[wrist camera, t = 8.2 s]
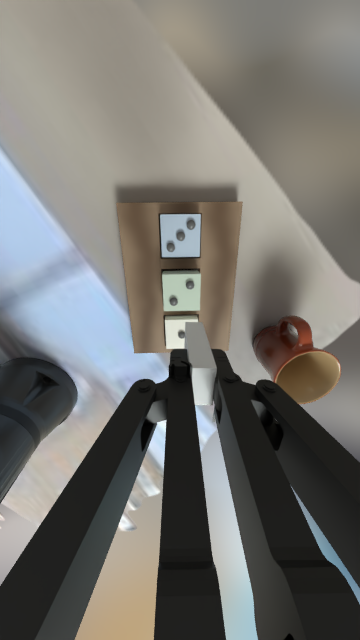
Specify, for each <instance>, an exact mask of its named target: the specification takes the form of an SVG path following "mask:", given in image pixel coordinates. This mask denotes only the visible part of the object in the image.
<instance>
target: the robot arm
mask: <svg viewBox="0 0 360 640" xmlns="http://www.w3.org/2000/svg"><path fill="white" fill-rule="evenodd" d="M213 399H214V404H215V406H214V414H213V422H215V419H216V424H217V428H218V433H219V438H220V442H221V447H222V452H223V456H224V461H225V466H226V470H227V475H228V480H229V484H230V489H231V494H232V498H233V502H234V507H235V512H236V517H237V522H238V526H239V531H240V535H241V540H242V545H243V549H244V554H245V559H246V563H247V568H248V573H249V577H250V582H251V587H252V592H253V599H254V613H255V623H256V631H257V636H258V640H360V604H359V602H358V600H357V598H356V596H355V594H354V592H353V591H352V589H351V587H350V585H349V584H348V582H347V580H346V578H345V577H344V576H343V575H342V573H341V572H340V571H339V569H338V568H337V567H336V566H335V565H333V564H332V563H331V562H329V561H328V560H327V559H326V558H325V556H324V555H323V554H322V552H321V550H320V548H319V546H318V544H317V542H316V540H315V537H314V535H313V533H312V531H311V529H310V527H309V525H308V523H307V520H306V518H305V516H304V514H303V512H302V509H301V507H300V505H299V503H298V501H297V499H296V496H295V494H294V492H293V490H292V488H293V489H294V491H295V492H296V494H297V495H298V497H299V498H300V499H301V501H302V502H303V504H304V506H305V507H306V509H307V510H308V511H309V513H310V515H311V516H312V517H313V519H314V520H315V522H316V523H317V525H318V526H319V528H320V529H321V531H322V532H323V534H324V535H325V537H326V538H327V540H328V541H329V543H330V544H331V546H332V547H333V549H334V550H335V552H336V553H337V555H338V556H339V558H340V559H341V561H342V562H343V564H344V565H345V567H346V568H347V570H348V571H349V573H350V574H351V576H352V577H353V579H354V580H355V582H356V583H357V584H358V586H359V588H360V462H358V461H357V460H356V459H355V458H354V457H353V456H352V455H351V454H350V453H349V452H348V451H347V450H346V449H345V448H344V447H343V446H342V445H341V444H340V443H339V442H337V440H335V439H334V438H333V437H332V436H331V435H330V434H329V433H328V432H327V431H326V430H325V429H324V428H323V427H322V426H321V425H320V424H319V423H318V422H317V421H316V420H315V419H314V418H312V417H311V416H310V415H309V414H308V413H307V412H306V411H305V410H304V409H303V408H302V407H301V406H300V405H299V404H298V403H297V402H296V401H295V400H294V399H293V398H292V397H291V396H289V395H288V394H287V393H286V392H285V391H284V390H283V389H282V388H281V387H280V386H279V385H278V384H276V383H275V382H272V381H270V380H259V381H258V382H257V383H256V385H253V384H249V383H246V382H243V381H242V380H241V378H240V377H239V376H238V375H237V374H235V373H234V372H233V369H232V367H231V365H230V363H229V360H228V358H227V356H226V353H225V352H224V351H223V350H221V349H211V348H210V345H209V342H208V338H207V335H206V332H205V329H204V326H203V323H202V322H185V343H184V349H173V350H172V351H171V355H170V365H169V377H168V378H167V379H166V380H165V381H163V382H161V383H157V384H155V382H154V381H152V380H150V379H141V380H138V381H136V382H135V383H134V384H133V385H132V387H131V388H130V390H129V391H128V393H127V394H126V396H125V397H124V399H123V400H122V402H121V403H120V405H119V406H118V408H117V409H116V411H115V412H114V414H113V415H112V417H111V418H110V420H109V421H108V423H107V425H106V426H105V428H104V429H103V431H102V432H101V434H100V435H99V437H98V438H97V440H96V441H95V443H94V444H93V446H92V447H91V449H90V450H89V452H88V453H87V455H86V456H85V458H84V459H83V461H82V463H81V464H80V466H79V467H78V469H77V470H76V472H75V473H74V475H73V476H72V478H71V479H70V481H69V482H68V484H67V485H66V487H65V488H64V490H63V491H62V493H61V494H60V496H59V497H58V499H57V501H56V502H55V504H54V505H53V507H52V508H51V510H50V511H49V513H48V514H47V516H46V517H45V519H44V520H43V522H42V523H41V525H40V526H39V528H38V529H37V531H36V532H35V534H34V536H33V537H32V539H31V540H30V542H29V543H28V545H27V546H26V548H25V549H24V551H23V552H22V554H21V555H20V557H19V558H18V560H17V561H16V563H15V564H14V566H13V567H12V569H11V570H10V572H9V574H8V575H7V577H6V578H5V580H4V581H3V583H2V584H1V586H0V640H74V639H75V637H76V634H77V632H78V629H79V627H80V624H81V621H82V619H83V616H84V613H85V611H86V608H87V606H88V603H89V600H90V598H91V595H92V593H93V590H94V587H95V584H96V582H97V579H98V577H99V574H100V572H101V569H102V566H103V564H104V561H105V559H106V556H107V553H108V550H109V548H110V545H111V543H112V540H113V538H114V535H115V532H116V530H117V527H118V525H119V522H120V519H121V517H122V514H123V511H124V509H125V506H126V504H127V501H128V498H129V496H130V493H131V491H132V488H133V485H134V483H135V480H136V477H137V475H138V472H139V470H140V467H141V464H142V462H143V459H144V457H145V454H146V451H147V449H148V446H149V443H150V441H151V438H152V436H153V433H154V430H155V428H156V425H157V422H160V421H163V420H166V419H167V422H166V441H165V460H164V479H163V499H162V517H161V536H160V555H159V567H158V578H157V593H156V611H155V629H154V640H226V636H225V629H224V620H223V612H222V604H221V596H220V589H219V583H218V577H217V571H216V567H215V565H214V562H213V557H212V551H211V542H210V533H209V524H208V517H207V508H206V498H205V489H204V482H203V472H202V463H201V454H200V446H199V437H198V428H197V419H196V411H195V405H213ZM76 402H77V390H76V387H75V385H74V383H73V381H72V380H71V378H70V377H69V376H68V375H67V374H66V373H65V372H64V371H62V370H61V369H60V368H58V367H57V366H55V365H53V364H51V363H48V362H46V361H43V360H39V359H34V358H19V359H14V360H11V361H8V362H6V363H5V364H3V365H2V366H0V503H1V502H2V500H3V499H4V497H5V496H6V494H7V493H8V491H9V489H10V488H11V486H12V485H13V483H14V482H15V480H16V479H17V477H18V476H19V474H20V472H21V471H22V469H23V468H24V466H25V465H26V463H27V462H28V460H29V458H30V457H31V455H32V454H33V452H34V451H35V449H36V448H37V446H38V445H39V443H40V442H41V441H42V440H43V439H44V438H45V437H46V436H47V435H48V434H49V433H50V432H51V431H52V430H53V429H54V428H55V427H56V426H58V425H60V424H61V423H62V422H63V421H65V420H66V419H67V417H68V416H69V415H70V413H71V412H72V410H73V408H74V407H75V405H76ZM276 420H277V421H278V422H277V421H276ZM290 485H291V486H292V488H291V486H290Z"/></svg>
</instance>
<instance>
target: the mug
mask: <svg viewBox="0 0 360 640" xmlns="http://www.w3.org/2000/svg"><path fill="white" fill-rule="evenodd" d="M289 323H290V324H292V325H293V326H294V327H295V328H296V329H297V332H298V335H297V334H296V333H295V332H293V331H292V330H290V329H289ZM253 349H254V352H255V355H256V357H257V359H258V361H259V362H260V363H261V364H262V366H263V367H264V368H265V370H266V371H267V372H268V373H269V375H270V376H271V379H272V382H275V383H276V384H278V385H279V386H280V387H281V388H282V389H283V390H284V391H285V392H286V393H287V394H288V395H289V396H291V397H292V398H293V399H294V400H295V401H296V402H297V403H298V404H305V403H310V402H313V401H316V400H318V399H320V398H322V397H324V396H325V395H327V394H328V393H329V392H330V391H331V390H332V389H333V388H334V387H335V386H336V384H337V382H338V380H339V378H340V375H341V366H340V363H339V361H338V359H337V358H336V357H335V356H334V355H333V354H331V353H329V352H327V351H324V350H321V349H318V348H315V347H313V341H312V331H311V328H310V326H309V324H308V323H307V322H306V321H305V320H304V319H302V318H300V317H298V316H285V317H283V318H281V319H280V321H279V323H278V325H277V326H270V327H267V328H265V329H263V330H262V331H261V332H260V333H259V334H258V335H257V336H256V338H255V340H254V343H253Z"/></svg>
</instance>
